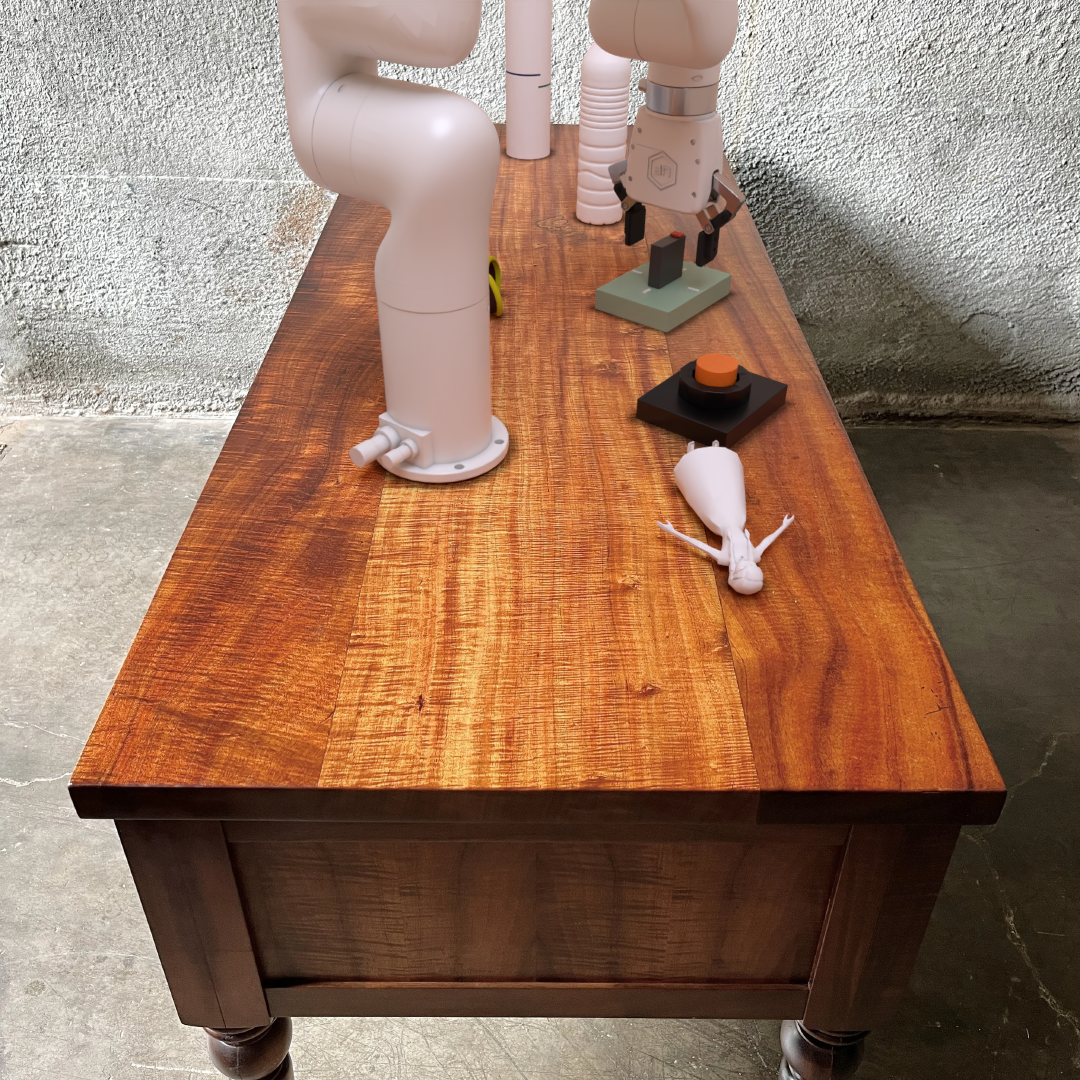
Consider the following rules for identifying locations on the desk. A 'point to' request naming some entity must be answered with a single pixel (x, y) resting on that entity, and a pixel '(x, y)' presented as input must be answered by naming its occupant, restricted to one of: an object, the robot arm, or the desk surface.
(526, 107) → the cylindrical container
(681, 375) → the button housing
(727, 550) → the woman figurine
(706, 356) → the button
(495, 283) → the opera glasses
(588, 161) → the water bottle
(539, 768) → the desk surface
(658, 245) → the knob
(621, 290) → the knob panel
